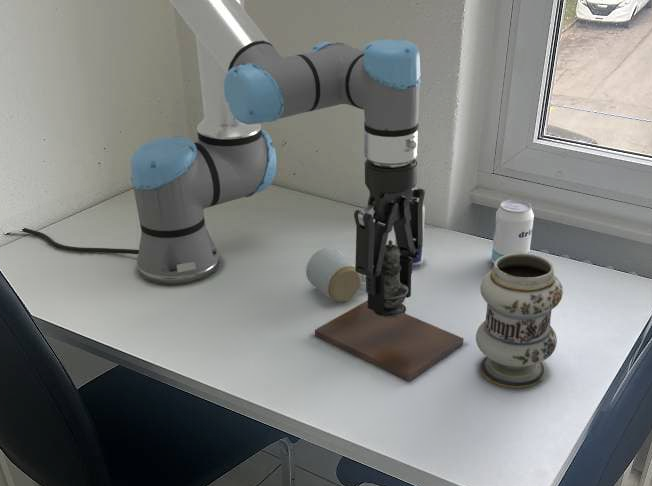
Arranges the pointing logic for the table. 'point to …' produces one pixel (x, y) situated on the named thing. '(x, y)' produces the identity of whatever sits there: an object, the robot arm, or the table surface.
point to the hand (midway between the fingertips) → (389, 301)
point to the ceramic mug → (334, 275)
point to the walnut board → (390, 340)
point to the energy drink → (419, 260)
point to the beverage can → (512, 229)
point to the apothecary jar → (518, 319)
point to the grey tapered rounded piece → (392, 283)
